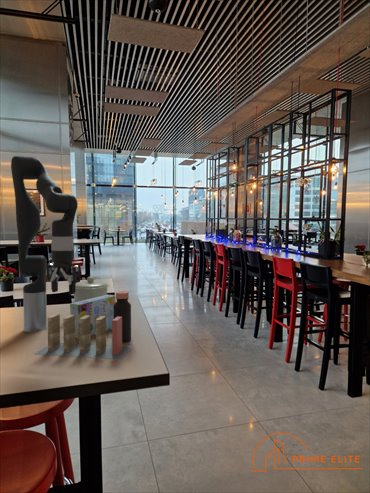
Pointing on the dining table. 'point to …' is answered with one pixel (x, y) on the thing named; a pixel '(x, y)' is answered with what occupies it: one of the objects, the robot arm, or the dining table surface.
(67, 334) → the domino
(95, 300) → the snack box
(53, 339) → the domino
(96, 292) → the canister
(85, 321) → the domino
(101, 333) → the domino
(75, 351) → the board
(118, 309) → the bottle
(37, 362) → the dining table surface
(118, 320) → the domino
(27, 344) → the dining table surface
